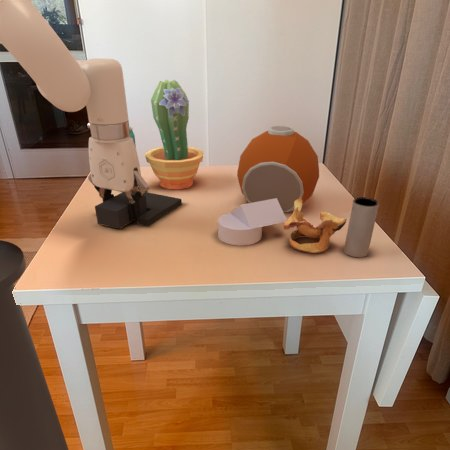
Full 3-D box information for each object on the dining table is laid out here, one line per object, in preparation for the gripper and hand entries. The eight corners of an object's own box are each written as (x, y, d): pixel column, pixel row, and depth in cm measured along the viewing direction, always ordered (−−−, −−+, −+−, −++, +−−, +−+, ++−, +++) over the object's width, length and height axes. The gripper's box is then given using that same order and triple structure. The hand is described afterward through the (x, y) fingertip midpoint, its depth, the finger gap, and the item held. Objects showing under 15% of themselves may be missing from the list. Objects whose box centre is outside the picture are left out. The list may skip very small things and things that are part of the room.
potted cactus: (138, 190, 109) (126, 83, 95) (159, 172, 121) (151, 75, 107) (195, 196, 106) (191, 86, 92) (211, 176, 119) (209, 77, 104)
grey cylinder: (371, 257, 80) (383, 205, 74) (348, 258, 80) (358, 206, 74) (362, 246, 84) (373, 196, 78) (340, 247, 83) (349, 197, 77)
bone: (286, 258, 79) (290, 216, 75) (274, 235, 87) (277, 197, 83) (347, 254, 81) (355, 213, 76) (329, 232, 89) (335, 194, 84)
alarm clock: (318, 194, 107) (328, 122, 98) (311, 221, 93) (321, 140, 84) (245, 187, 112) (248, 117, 102) (228, 211, 98) (229, 134, 88)
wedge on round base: (263, 220, 94) (211, 231, 89) (265, 191, 90) (210, 201, 85) (286, 236, 87) (230, 249, 82) (288, 205, 83) (231, 217, 79)
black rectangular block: (97, 223, 91) (94, 206, 89) (126, 207, 98) (123, 191, 96) (120, 229, 89) (117, 211, 86) (147, 212, 96) (145, 195, 94)
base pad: (97, 214, 96) (96, 208, 95) (134, 195, 106) (133, 189, 106) (148, 226, 91) (147, 219, 90) (181, 204, 101) (181, 198, 100)
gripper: (63, 130, 83) (81, 215, 94) (134, 140, 77) (145, 230, 87) (89, 122, 89) (103, 204, 99) (157, 131, 83) (165, 217, 93)
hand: (122, 215), depth 93 cm, fingers closed on black rectangular block, 5 cm apart
